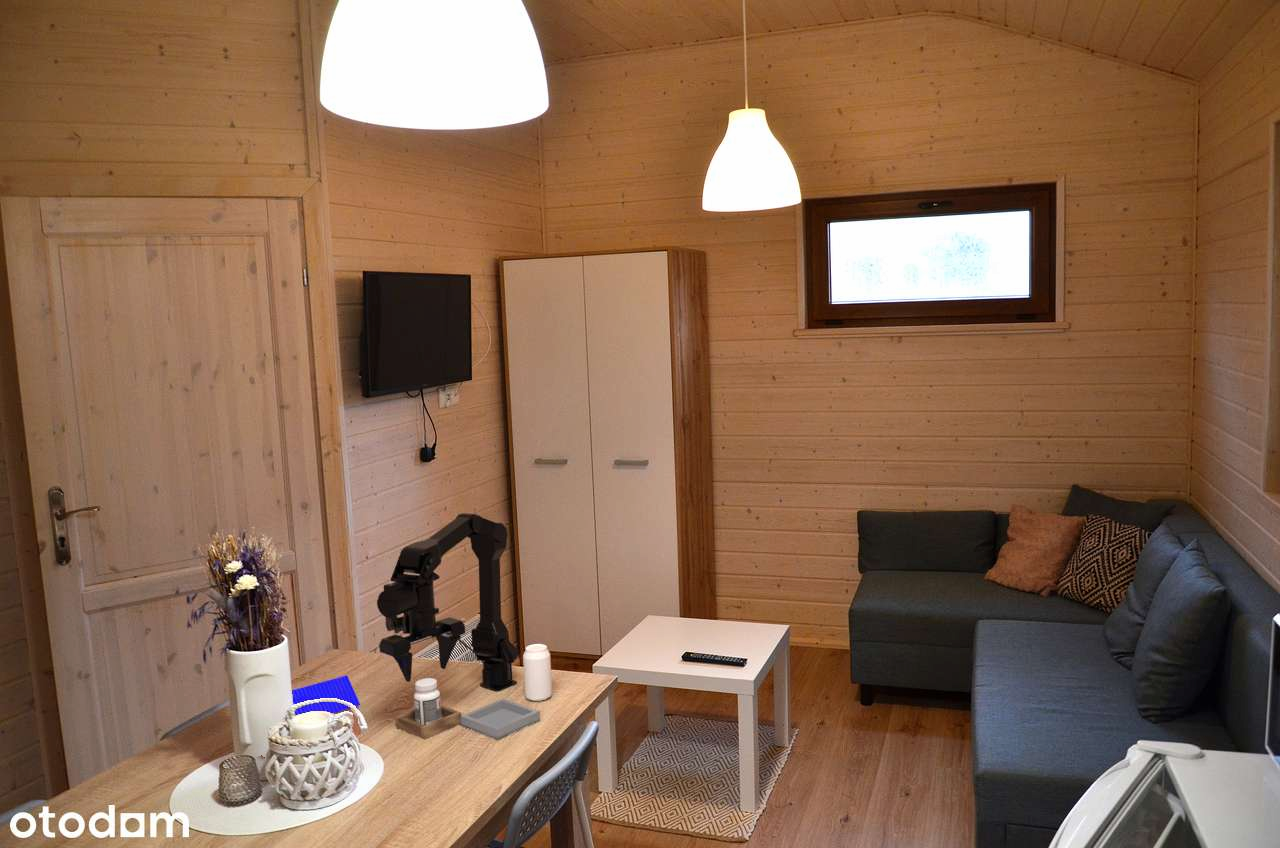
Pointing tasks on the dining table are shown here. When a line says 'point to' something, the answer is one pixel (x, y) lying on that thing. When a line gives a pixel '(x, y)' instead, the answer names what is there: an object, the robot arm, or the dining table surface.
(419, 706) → the pill bottle
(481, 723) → the tray
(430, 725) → the socket collar
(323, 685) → the blue ribbed roof
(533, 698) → the beverage can
